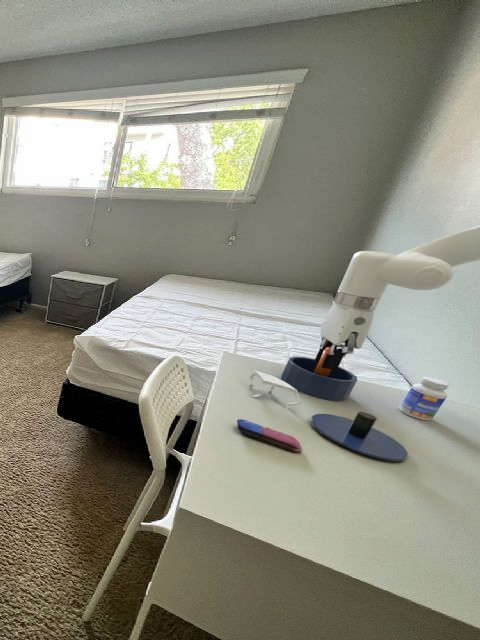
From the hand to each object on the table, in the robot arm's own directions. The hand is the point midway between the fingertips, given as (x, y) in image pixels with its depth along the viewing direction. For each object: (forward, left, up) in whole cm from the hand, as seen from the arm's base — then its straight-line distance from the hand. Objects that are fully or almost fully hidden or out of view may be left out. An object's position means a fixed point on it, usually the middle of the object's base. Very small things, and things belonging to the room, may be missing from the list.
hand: (325, 365), depth 94 cm
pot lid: (+2, +24, -6) cm, 25 cm away
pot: (0, 0, -7) cm, 7 cm away
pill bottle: (-18, +4, -7) cm, 20 cm away
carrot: (0, 0, -5) cm, 5 cm away
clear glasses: (+14, +13, -7) cm, 21 cm away
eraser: (+21, +34, -7) cm, 41 cm away
